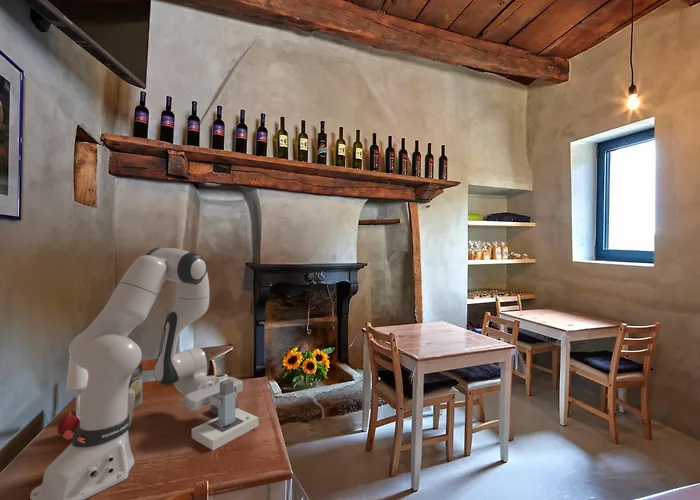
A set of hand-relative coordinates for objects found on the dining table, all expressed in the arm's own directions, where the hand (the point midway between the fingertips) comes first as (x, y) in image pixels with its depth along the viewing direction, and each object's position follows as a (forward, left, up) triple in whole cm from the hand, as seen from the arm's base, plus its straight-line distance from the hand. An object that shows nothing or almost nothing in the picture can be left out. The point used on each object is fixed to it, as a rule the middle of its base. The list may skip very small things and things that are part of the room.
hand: (228, 399), depth 116 cm
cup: (-14, +37, -12) cm, 41 cm away
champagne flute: (-18, +55, -12) cm, 59 cm away
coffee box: (-4, +49, -12) cm, 50 cm away
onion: (-25, +46, -12) cm, 54 cm away
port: (0, +1, -11) cm, 11 cm away
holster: (+11, +13, -11) cm, 20 cm away
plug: (0, +1, -8) cm, 8 cm away
